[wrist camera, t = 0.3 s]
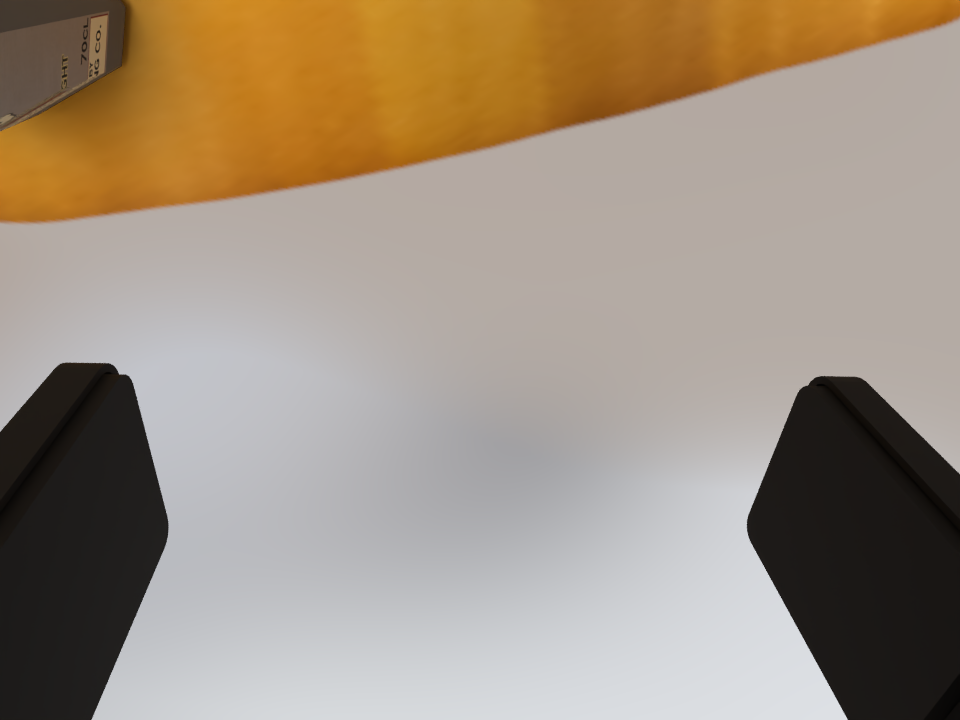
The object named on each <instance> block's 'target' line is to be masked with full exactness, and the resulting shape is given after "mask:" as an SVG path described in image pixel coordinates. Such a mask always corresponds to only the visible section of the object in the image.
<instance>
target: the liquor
mask: <svg viewBox="0 0 960 720" xmlns="http://www.w3.org/2000/svg"><path fill="white" fill-rule="evenodd" d="M125 10H126V7H125V6H124V4H123V3H122V1H121V0H0V131H2V130H4V129H7V128H9V127H11V126H14V125H16V124H18V123H20V122H23V121H25V120H27V119H30V118H32V117H34V116H36V115H39V114H40V113H42V112H44V111H46V110H47V109H49V108H51V107H52V106H54V105H56V104H57V103H59V102H61V101H63V100H64V99H66V98H68V97H69V96H71V95H73V94H75V93H76V92H78V91H80V90H81V89H83V88H85V87H86V86H88V85H90V84H92V83H93V82H95V81H97V80H98V79H100V78H102V77H103V76H105V75H107V74H109V73H110V72H112V71H114V70H115V69H117V68H119V67H121V66H122V52H123V38H124V24H125Z"/></svg>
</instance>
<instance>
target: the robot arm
mask: <svg viewBox="0 0 960 720" xmlns="http://www.w3.org/2000/svg"><path fill="white" fill-rule="evenodd" d="M747 532H748V536H749V539H750V541H751V543H752V545H753V547H754V549H755V551H756V553H757V554H758V556H759V558H760V560H761V562H762V563H763V565H764V567H765V569H766V571H767V573H768V574H769V576H770V578H771V580H772V582H773V584H774V585H775V587H776V589H777V591H778V593H779V595H780V596H781V598H782V600H783V602H784V604H785V606H786V607H787V609H788V611H789V613H790V615H791V617H792V618H793V620H794V622H795V624H796V626H797V627H798V629H799V631H800V633H801V635H802V637H803V638H804V640H805V642H806V644H807V646H808V648H809V649H810V651H811V653H812V655H813V657H814V659H815V660H816V662H817V664H818V666H819V668H820V669H821V671H822V673H823V675H824V677H825V679H826V680H827V682H828V684H829V686H830V688H831V689H832V691H833V693H834V695H835V697H836V699H837V700H838V702H839V704H840V706H841V708H842V710H843V711H844V713H845V715H846V717H847V719H848V720H960V474H959V473H958V472H957V471H956V470H955V469H954V468H953V467H952V466H951V465H950V464H949V463H948V462H947V461H946V460H944V458H943V457H942V456H941V455H940V454H939V453H938V452H937V451H936V450H935V449H934V448H932V447H931V445H929V444H928V442H927V441H925V439H924V438H922V437H921V436H920V435H919V434H918V433H917V432H916V431H915V430H914V429H913V428H912V427H911V426H910V425H909V424H908V423H907V422H906V421H905V420H904V419H903V418H902V417H901V416H900V415H899V414H898V413H897V412H896V411H895V410H894V409H893V408H892V407H891V406H890V405H889V404H888V403H887V402H886V401H885V400H884V399H883V398H882V397H881V396H880V395H879V394H878V393H877V392H876V391H875V390H874V389H873V388H872V387H871V386H870V385H869V384H868V383H867V382H866V381H864V380H863V379H861V378H858V377H833V376H820V377H816V378H814V379H813V380H812V381H811V382H810V383H809V385H808V386H805V387H803V388H802V389H800V390H799V392H798V394H797V396H796V398H795V401H794V403H793V406H792V408H791V411H790V413H789V416H788V418H787V421H786V423H785V426H784V429H783V431H782V433H781V436H780V438H779V441H778V443H777V446H776V448H775V451H774V453H773V456H772V458H771V461H770V463H769V466H768V468H767V471H766V473H765V476H764V478H763V480H762V483H761V486H760V488H759V491H758V493H757V496H756V498H755V500H754V503H753V505H752V508H751V511H750V513H749V515H748V519H747ZM167 537H168V519H167V514H166V510H165V506H164V502H163V498H162V495H161V491H160V487H159V483H158V479H157V475H156V471H155V467H154V463H153V459H152V455H151V452H150V448H149V444H148V440H147V436H146V432H145V428H144V424H143V421H142V417H141V413H140V409H139V405H138V401H137V397H136V394H135V389H134V386H133V383H132V380H131V379H130V377H129V376H127V375H119V373H118V371H117V369H116V368H115V367H114V366H113V365H111V364H109V363H62V364H60V365H58V366H57V367H56V368H55V369H54V370H53V371H52V373H51V374H50V375H49V376H48V377H47V378H46V380H45V381H44V382H43V383H42V384H41V385H40V387H39V388H38V389H37V390H36V391H35V392H34V393H33V395H32V396H31V397H30V398H29V399H28V400H27V402H26V403H25V404H24V405H23V406H22V407H21V409H20V410H19V411H18V412H17V413H16V414H15V415H14V417H13V418H12V419H11V420H10V421H9V423H8V424H7V425H6V426H5V427H4V428H3V429H2V431H1V432H0V720H91V719H92V717H93V715H94V712H95V710H96V708H97V705H98V703H99V701H100V698H101V696H102V694H103V691H104V689H105V687H106V684H107V682H108V680H109V677H110V675H111V672H112V670H113V668H114V665H115V663H116V661H117V658H118V656H119V654H120V651H121V649H122V646H123V644H124V642H125V640H126V637H127V635H128V632H129V630H130V627H131V625H132V623H133V620H134V618H135V616H136V613H137V611H138V609H139V607H140V604H141V602H142V600H143V597H144V595H145V593H146V590H147V588H148V585H149V583H150V581H151V578H152V576H153V574H154V571H155V569H156V566H157V564H158V562H159V560H160V557H161V555H162V553H163V550H164V548H165V545H166V542H167Z"/></svg>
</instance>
